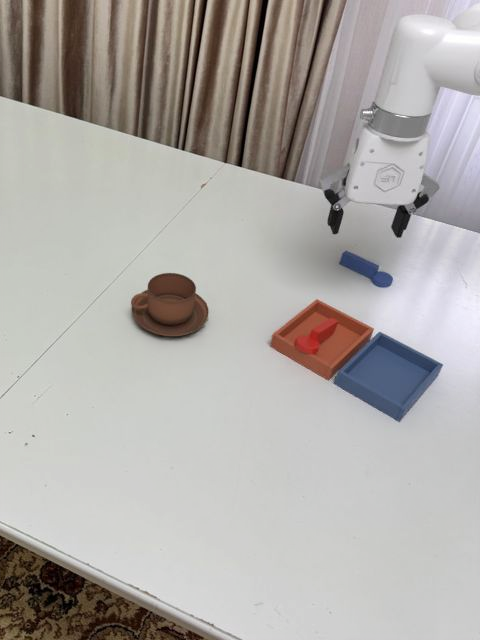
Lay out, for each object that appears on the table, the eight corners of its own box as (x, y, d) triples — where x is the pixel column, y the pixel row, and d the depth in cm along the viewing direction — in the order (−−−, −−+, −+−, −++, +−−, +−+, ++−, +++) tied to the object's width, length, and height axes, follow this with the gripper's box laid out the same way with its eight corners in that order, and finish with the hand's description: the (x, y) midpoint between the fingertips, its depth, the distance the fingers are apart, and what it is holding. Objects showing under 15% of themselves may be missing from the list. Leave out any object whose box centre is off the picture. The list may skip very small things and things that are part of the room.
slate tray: (437, 376, 92) (443, 364, 90) (399, 422, 85) (405, 409, 83) (374, 343, 97) (379, 331, 95) (333, 383, 90) (337, 371, 88)
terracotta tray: (369, 340, 97) (374, 328, 96) (328, 380, 90) (332, 368, 88) (313, 310, 102) (316, 298, 100) (269, 346, 95) (272, 334, 93)
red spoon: (310, 356, 89) (316, 343, 88) (289, 345, 91) (295, 331, 90) (340, 337, 97) (345, 324, 95) (320, 326, 98) (325, 313, 97)
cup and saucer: (156, 352, 92) (158, 320, 88) (118, 308, 99) (118, 276, 95) (222, 328, 97) (226, 297, 93) (181, 287, 104) (183, 257, 100)
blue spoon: (395, 281, 110) (399, 270, 108) (385, 290, 108) (389, 278, 106) (345, 258, 115) (349, 247, 113) (335, 266, 113) (339, 255, 111)
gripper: (340, 127, 80) (312, 241, 91) (471, 135, 81) (427, 247, 92) (329, 105, 85) (304, 215, 97) (452, 113, 86) (413, 221, 98)
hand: (364, 231), depth 94 cm, fingers open, 9 cm apart
